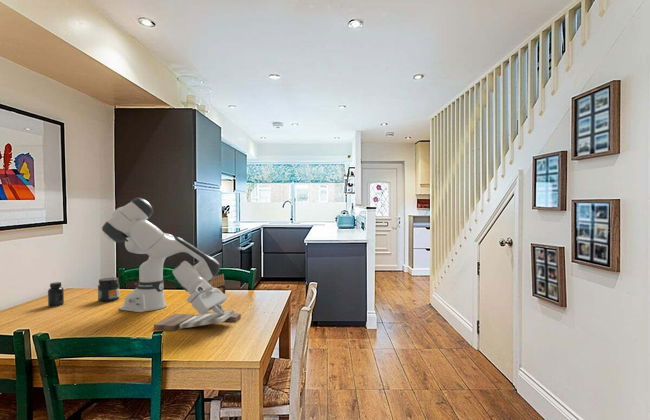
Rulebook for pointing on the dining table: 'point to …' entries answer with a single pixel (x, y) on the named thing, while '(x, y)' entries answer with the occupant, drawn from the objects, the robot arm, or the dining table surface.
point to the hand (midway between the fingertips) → (222, 313)
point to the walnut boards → (177, 319)
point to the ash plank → (206, 319)
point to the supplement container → (108, 289)
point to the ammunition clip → (218, 283)
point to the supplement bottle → (55, 294)
